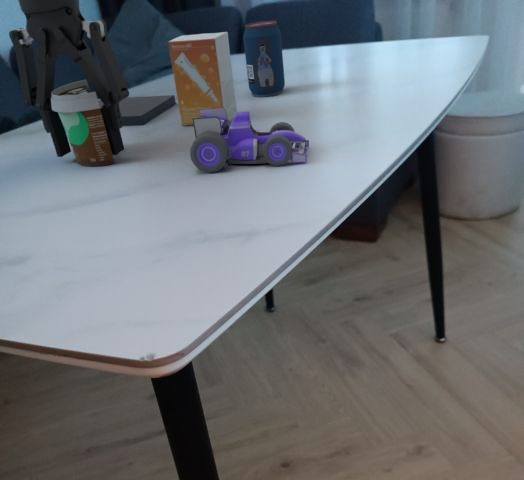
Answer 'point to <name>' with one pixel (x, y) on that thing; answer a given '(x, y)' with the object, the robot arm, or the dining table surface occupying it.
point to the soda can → (264, 58)
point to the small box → (202, 74)
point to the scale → (143, 108)
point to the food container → (83, 123)
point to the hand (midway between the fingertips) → (90, 153)
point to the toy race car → (241, 142)
